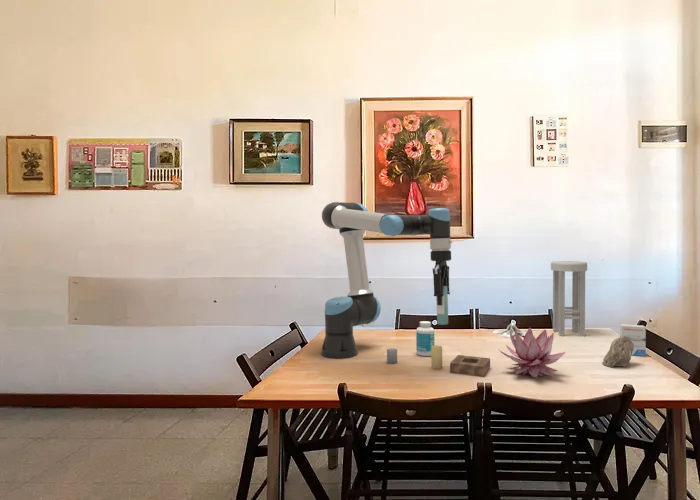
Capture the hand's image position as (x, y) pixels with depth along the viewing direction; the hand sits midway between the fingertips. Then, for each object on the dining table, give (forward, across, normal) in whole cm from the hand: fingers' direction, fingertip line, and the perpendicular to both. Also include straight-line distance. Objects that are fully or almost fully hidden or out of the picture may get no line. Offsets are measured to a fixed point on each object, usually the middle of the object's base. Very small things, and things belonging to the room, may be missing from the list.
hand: (442, 312), depth 175 cm
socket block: (+21, +2, -9) cm, 23 cm away
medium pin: (+21, 0, +3) cm, 21 cm away
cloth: (+21, +70, -14) cm, 74 cm away
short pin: (+20, -1, +21) cm, 29 cm away
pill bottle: (+21, +16, +13) cm, 29 cm away
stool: (+21, +81, -38) cm, 92 cm away
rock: (+22, +32, -58) cm, 70 cm away
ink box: (+22, +51, -63) cm, 84 cm away
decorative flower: (+22, +7, -30) cm, 38 cm away
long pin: (+4, 0, 0) cm, 4 cm away
